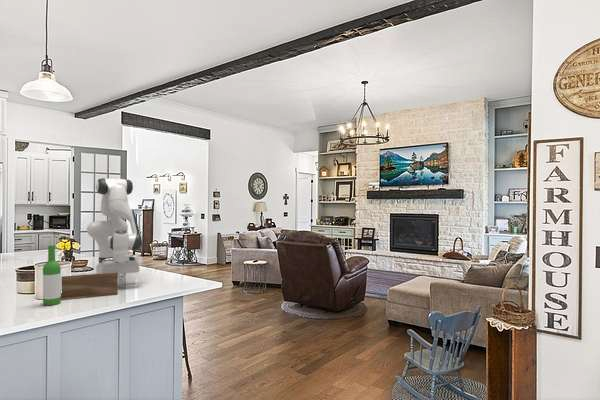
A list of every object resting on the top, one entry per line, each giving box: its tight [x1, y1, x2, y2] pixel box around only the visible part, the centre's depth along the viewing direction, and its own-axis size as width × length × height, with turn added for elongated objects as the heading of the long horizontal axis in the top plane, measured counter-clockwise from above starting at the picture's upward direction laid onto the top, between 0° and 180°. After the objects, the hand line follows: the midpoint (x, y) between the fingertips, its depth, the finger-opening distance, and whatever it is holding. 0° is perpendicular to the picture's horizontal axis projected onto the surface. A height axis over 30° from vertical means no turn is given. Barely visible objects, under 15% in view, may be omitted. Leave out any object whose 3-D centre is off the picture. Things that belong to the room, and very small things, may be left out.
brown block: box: [61, 272, 119, 301], centre depth 212 cm, size 13×28×12 cm, turn 114°
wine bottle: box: [42, 244, 62, 306], centre depth 194 cm, size 8×8×30 cm
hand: (121, 280), depth 226 cm, fingers closed
